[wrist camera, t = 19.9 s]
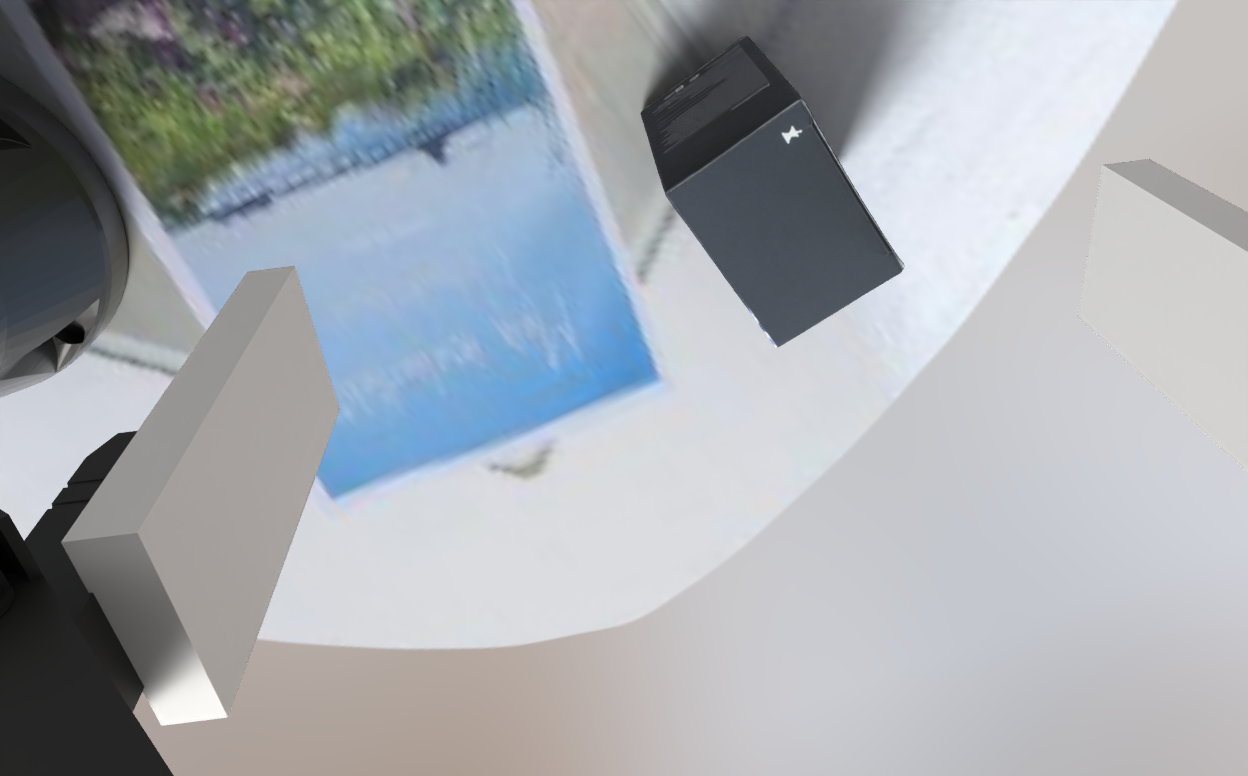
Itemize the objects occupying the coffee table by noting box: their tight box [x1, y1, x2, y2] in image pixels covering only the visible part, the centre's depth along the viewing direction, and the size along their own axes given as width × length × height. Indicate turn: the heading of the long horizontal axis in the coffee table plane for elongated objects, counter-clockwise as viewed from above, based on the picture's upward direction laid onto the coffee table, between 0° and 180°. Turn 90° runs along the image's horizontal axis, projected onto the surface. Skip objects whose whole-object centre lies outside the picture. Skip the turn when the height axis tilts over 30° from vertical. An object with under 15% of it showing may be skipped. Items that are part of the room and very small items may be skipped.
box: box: [641, 36, 904, 348], centre depth 37 cm, size 8×6×11 cm
